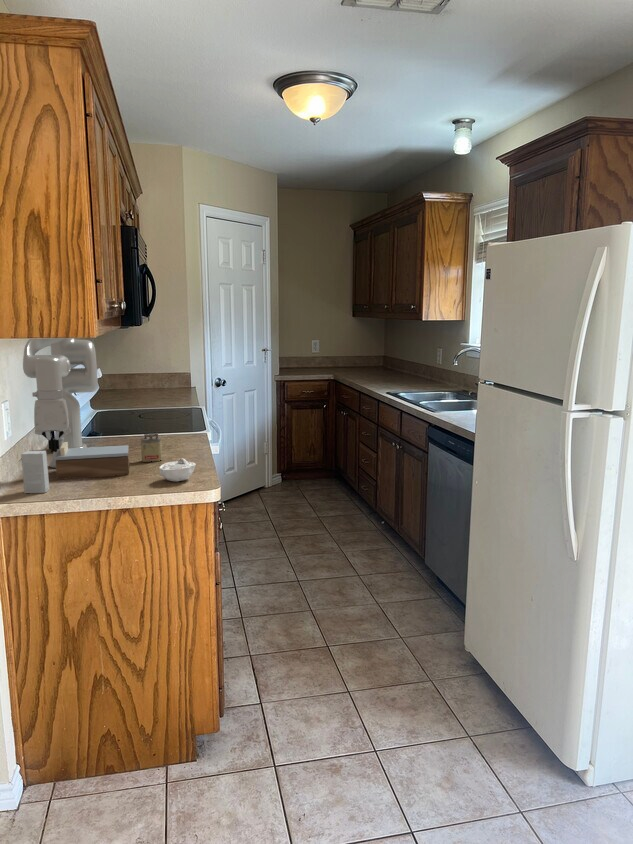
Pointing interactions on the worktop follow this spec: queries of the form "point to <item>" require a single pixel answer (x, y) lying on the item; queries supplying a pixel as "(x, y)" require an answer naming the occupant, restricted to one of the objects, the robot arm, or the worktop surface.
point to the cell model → (177, 470)
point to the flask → (53, 460)
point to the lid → (91, 452)
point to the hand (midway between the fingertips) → (54, 451)
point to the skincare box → (35, 472)
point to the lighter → (151, 448)
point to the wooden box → (92, 467)
